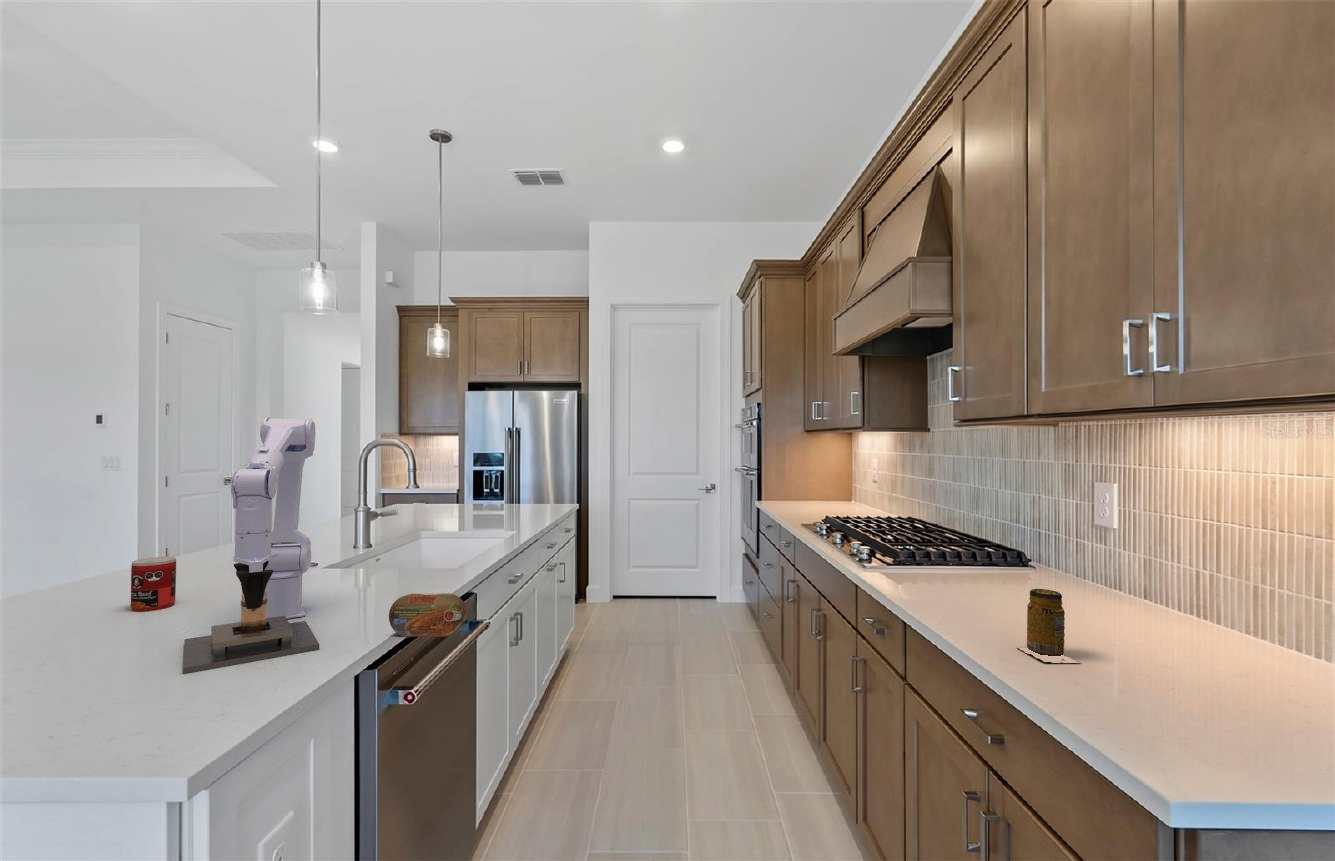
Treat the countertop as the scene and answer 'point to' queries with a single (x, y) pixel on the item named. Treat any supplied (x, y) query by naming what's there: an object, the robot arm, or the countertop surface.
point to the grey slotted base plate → (247, 644)
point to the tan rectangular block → (253, 617)
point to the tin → (427, 615)
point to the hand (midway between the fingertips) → (252, 603)
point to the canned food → (153, 583)
